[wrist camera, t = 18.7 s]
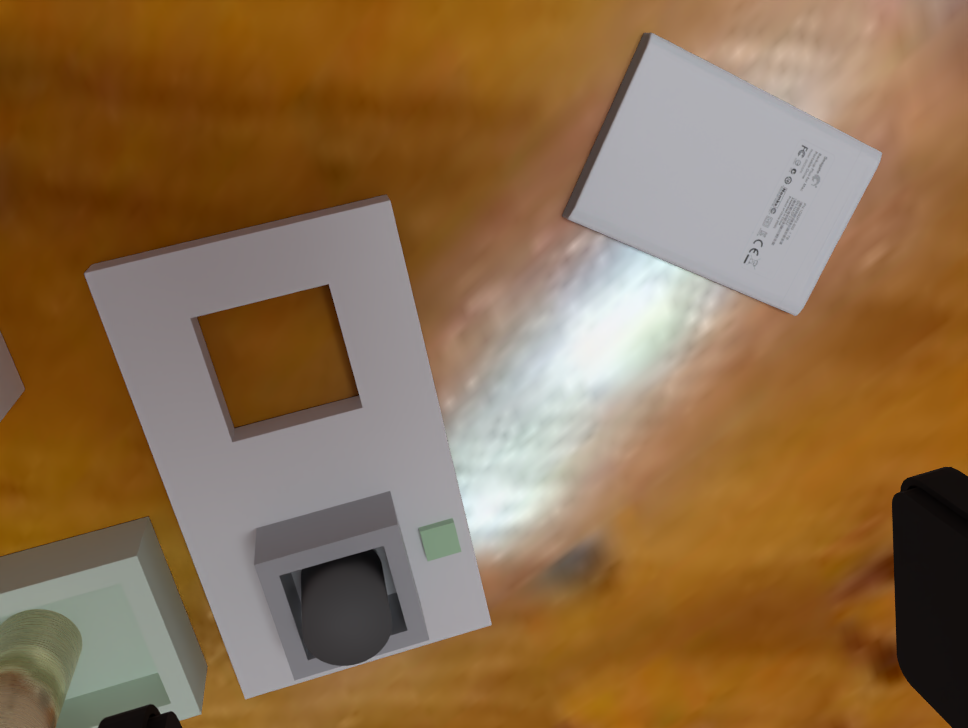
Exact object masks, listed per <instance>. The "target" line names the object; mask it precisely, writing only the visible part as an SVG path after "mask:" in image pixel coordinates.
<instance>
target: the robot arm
mask: <svg viewBox="0 0 968 728" xmlns="http://www.w3.org/2000/svg"><path fill="white" fill-rule="evenodd" d="M892 518H893V549H894V580H895V611H896V642H897V658H898V662H899V666H900V668H901V670H902V673H903V675H904V676H905V678H906V679H907V681H908V682H909V683H910V685H911V686H912V687H913V688H914V689H915V690H916V691H917V692H918V693H919V694H920V695H921V696H922V697H923V698H924V699H925V700H926V701H927V702H928V703H929V704H930V705H931V706H932V707H933V708H934V709H935V710H936V711H937V712H938V713H939V714H940V716H941V717H942V718H943V719H944V720H945V721H946V722H947V723H948V724H949V725H950V726H951V727H952V728H968V476H966V475H965V474H963V473H962V472H960V471H958V470H956V469H954V468H952V467H943V468H940V469H936V470H933V471H930V472H926V473H923V474H919V475H916V476H913V477H909V478H907V479H906V480H904V481H903V483H902V485H901V491H900V492H899V493H897V494H895V495H894V497H893V500H892ZM98 728H182V726H181V724H180V722H179V719H178V718H177V716H176V714H175V713H174V712H172V711H169V712H166V713H163V714H160V712H159V710H158V708H157V707H156V706H155V705H153V704H149V705H145V706H142V707H139V708H135V709H132V710H129V711H125V712H122V713H119V714H115V715H112V716H109V717H105V718H104V719H102V720H101V722H100V724H99V726H98Z"/></svg>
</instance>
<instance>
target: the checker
mask: <svg viewBox="0 0 968 728" xmlns="http://www.w3.org/2000/svg"><path fill="white" fill-rule="evenodd" d="M84 275H85V278H86V281H87V283H88V286H89V288H90V291H91V294H92V296H93V299H94V302H95V304H96V307H97V310H98V312H99V315H100V317H101V320H102V323H103V325H104V328H105V331H106V333H107V336H108V339H109V341H110V344H111V346H112V349H113V352H114V354H115V357H116V360H117V362H118V365H119V367H120V370H121V373H122V375H123V378H124V381H125V383H126V386H127V389H128V391H129V394H130V396H131V399H132V402H133V404H134V407H135V410H136V412H137V415H138V418H139V420H140V423H141V425H142V428H143V431H144V433H145V436H146V439H147V441H148V444H149V447H150V449H151V452H152V454H153V457H154V460H155V462H156V465H157V468H158V470H159V473H160V476H161V478H162V481H163V483H164V486H165V489H166V491H167V494H168V497H169V499H170V502H171V505H172V507H173V510H174V512H175V515H176V518H177V520H178V523H179V526H180V528H181V531H182V534H183V536H184V539H185V541H186V544H187V547H188V549H189V552H190V555H191V557H192V560H193V562H194V565H195V568H196V570H197V573H198V576H199V578H200V581H201V584H202V586H203V589H204V591H205V594H206V597H207V599H208V602H209V605H210V607H211V610H212V613H213V615H214V618H215V620H216V623H217V626H218V628H219V631H220V634H221V636H222V639H223V642H224V644H225V647H226V649H227V652H228V655H229V657H230V660H231V663H232V665H233V668H234V671H235V673H236V676H237V678H238V681H239V684H240V686H241V689H242V692H243V694H244V697H245V699H248V698H251V697H254V696H258V695H261V694H264V693H268V692H271V691H274V690H278V689H281V688H284V687H288V686H291V685H294V684H297V683H301V682H304V681H307V680H311V679H314V678H317V677H321V676H324V675H327V674H331V673H334V672H337V671H341V670H344V669H347V668H351V667H354V666H357V665H360V664H364V663H367V662H370V661H374V660H377V659H380V658H384V657H387V656H390V655H394V654H397V653H400V652H404V651H407V650H410V649H414V648H417V647H420V646H423V645H427V644H430V643H433V642H437V641H440V640H443V639H447V638H450V637H453V636H457V635H460V634H463V633H467V632H470V631H473V630H477V629H480V628H483V627H486V626H490V625H492V624H491V620H490V616H489V611H488V607H487V603H486V599H485V595H484V591H483V586H482V582H481V578H480V574H479V570H478V565H477V561H476V557H475V553H474V549H473V545H472V540H471V536H470V532H469V528H468V524H467V519H466V515H465V511H464V507H463V503H462V499H461V494H460V490H459V486H458V482H457V478H456V473H455V469H454V465H453V461H452V457H451V453H450V448H449V444H448V440H447V436H446V432H445V427H444V423H443V419H442V415H441V411H440V407H439V402H438V398H437V394H436V390H435V386H434V381H433V377H432V373H431V369H430V365H429V360H428V356H427V352H426V348H425V344H424V340H423V335H422V331H421V327H420V323H419V319H418V314H417V310H416V306H415V302H414V298H413V294H412V289H411V285H410V281H409V277H408V273H407V268H406V264H405V260H404V256H403V252H402V248H401V243H400V239H399V235H398V231H397V227H396V222H395V218H394V214H393V210H392V206H391V202H390V199H389V198H388V196H387V195H382V196H378V197H374V198H370V199H365V200H361V201H357V202H353V203H349V204H344V205H340V206H336V207H332V208H327V209H323V210H319V211H315V212H311V213H306V214H302V215H298V216H294V217H290V218H285V219H281V220H277V221H273V222H269V223H264V224H260V225H256V226H252V227H248V228H243V229H239V230H235V231H231V232H227V233H222V234H218V235H214V236H210V237H206V238H201V239H197V240H193V241H189V242H184V243H180V244H176V245H172V246H168V247H163V248H159V249H155V250H151V251H147V252H142V253H138V254H134V255H130V256H126V257H121V258H117V259H113V260H109V261H105V262H100V263H96V264H92V265H91V266H90V267H89V268H88V269H87V270H86V272H85V273H84ZM327 284H329V287H330V290H331V294H332V298H333V301H334V305H335V309H336V312H337V316H338V320H339V323H340V327H341V330H342V334H343V338H344V341H345V345H346V349H347V352H348V356H349V360H350V363H351V367H352V371H353V374H354V378H355V381H356V385H357V389H358V392H359V395H358V396H355V397H351V398H347V399H343V400H339V401H336V402H332V403H328V404H324V405H321V406H317V407H313V408H309V409H305V410H302V411H298V412H294V413H290V414H287V415H283V416H279V417H275V418H271V419H268V420H264V421H260V422H256V423H253V424H249V425H245V426H241V427H237V428H234V426H233V423H232V420H231V417H230V414H229V411H228V408H227V405H226V402H225V399H224V396H223V393H222V390H221V387H220V384H219V381H218V378H217V375H216V372H215V369H214V367H213V364H212V361H211V358H210V355H209V352H208V349H207V346H206V343H205V340H204V337H203V334H202V331H201V328H200V325H199V322H198V319H197V317H198V316H202V315H206V314H210V313H214V312H218V311H222V310H226V309H230V308H234V307H238V306H242V305H246V304H250V303H254V302H258V301H262V300H266V299H270V298H274V297H278V296H282V295H287V294H291V293H295V292H299V291H303V290H307V289H311V288H315V287H319V286H323V285H327ZM371 549H373V550H374V551H375V552H376V553H377V555H378V556H379V558H380V560H381V563H382V568H383V573H384V579H385V584H386V590H387V595H388V601H389V607H390V612H391V618H392V631H391V635H390V637H389V640H388V642H387V643H386V645H385V646H384V647H383V649H382V650H381V651H380V652H379V653H377V654H376V655H375V656H374V657H372V658H370V659H369V660H367V661H365V662H362V663H359V664H355V665H349V666H336V665H331V664H328V663H325V662H323V661H320V660H319V659H317V658H316V657H314V656H313V655H312V654H311V653H310V652H309V650H308V649H307V647H306V645H305V643H304V640H303V635H302V603H301V571H302V569H304V568H308V567H311V566H315V565H318V564H322V563H325V562H329V561H332V560H336V559H339V558H343V557H346V556H350V555H353V554H357V553H360V552H364V551H367V550H371Z"/></svg>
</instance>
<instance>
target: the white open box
mask: <svg viewBox="0 0 968 728" xmlns="http://www.w3.org/2000/svg"><path fill="white" fill-rule="evenodd" d="M24 390H25V388H24V386H23V383H22V381H21V378H20V376H19V374H18V371H17V369H16V367H15V364H14V362H13V360H12V357H11V355H10V353H9V350H8V348H7V346H6V343H5V341H4V339H3V336H2V334H1V332H0V422H1V420H2V419H3V418H4V416H5V415H6V414H7V412H8V411H9V410H10V409H11V407H12V406H13V405H14V403H15V402H16V401H17V399H18V398H19V397H20V395H21V394H22V393H23V392H24Z"/></svg>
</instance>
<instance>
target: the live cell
mask: <svg viewBox="0 0 968 728" xmlns="http://www.w3.org/2000/svg"><path fill="white" fill-rule="evenodd" d="M81 651H82V636H81V634H80V631H79V630H78V628H77V627H76V625H75V624H74V623H73V622H72V621H71V620H70V619H68V618H67V617H65V616H64V615H62V614H59V613H57V612H54V611H50V610H44V609H32V610H26V611H22V612H19V613H17V614H15V615H12V616H11V617H9V618H8V619H7V620H5V621H4V622H3V623H2V624H1V625H0V728H55V727H56V724H57V721H58V719H59V716H60V713H61V710H62V707H63V704H64V701H65V698H66V695H67V692H68V689H69V686H70V683H71V680H72V678H73V675H74V672H75V669H76V666H77V663H78V660H79V657H80V654H81Z"/></svg>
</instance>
